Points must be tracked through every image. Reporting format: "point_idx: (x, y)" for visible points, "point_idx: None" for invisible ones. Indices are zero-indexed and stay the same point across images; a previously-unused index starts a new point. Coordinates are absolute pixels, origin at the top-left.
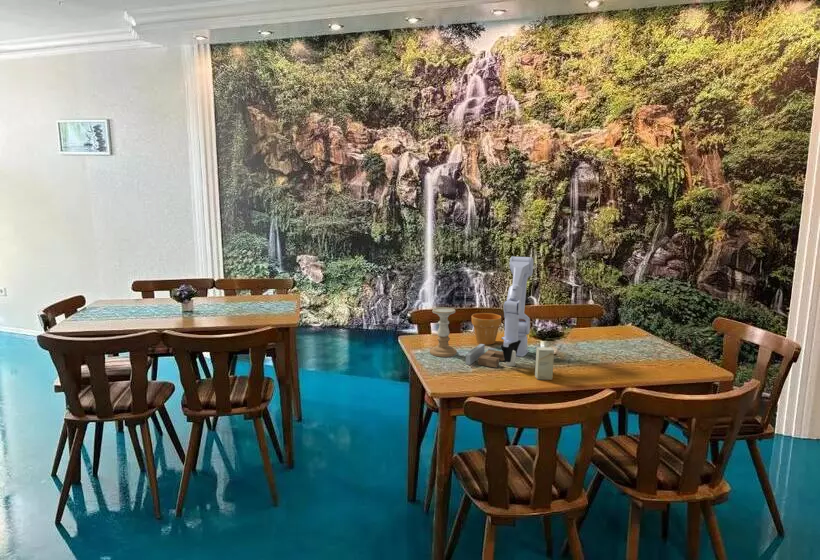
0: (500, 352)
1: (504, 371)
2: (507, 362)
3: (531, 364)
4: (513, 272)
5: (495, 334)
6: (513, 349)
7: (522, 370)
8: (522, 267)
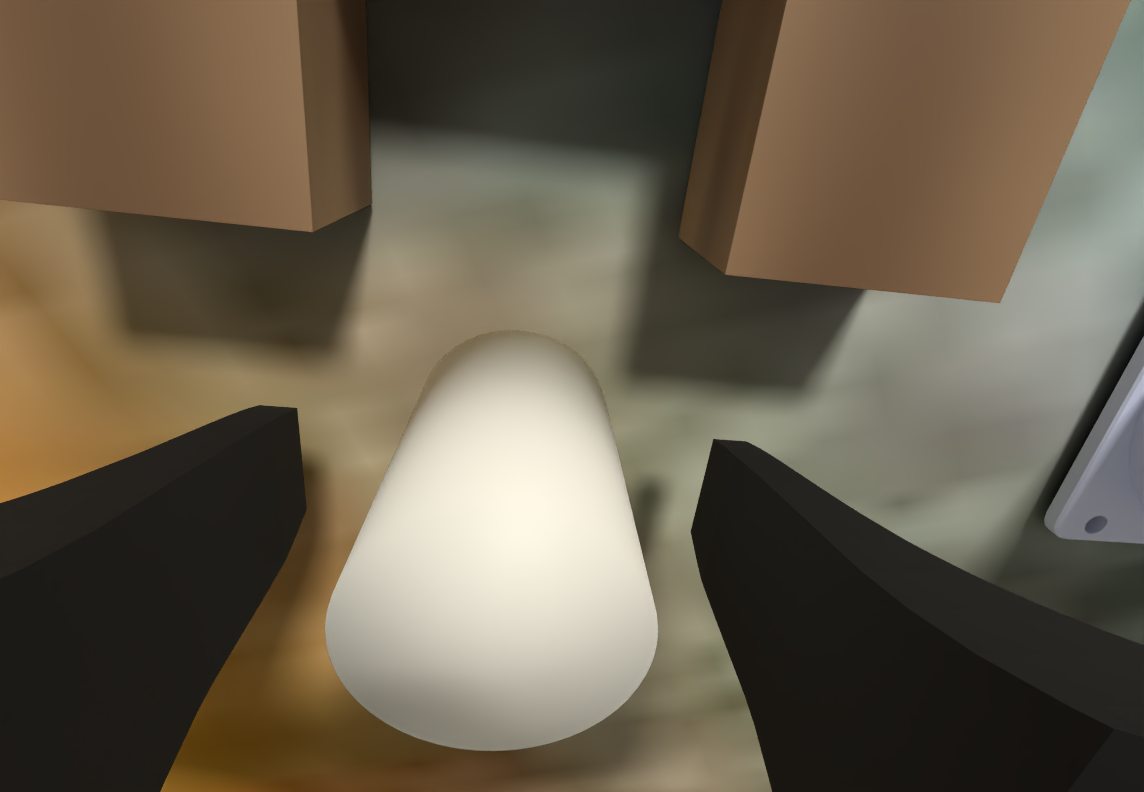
0: (934, 133)
1: (35, 401)
2: (416, 407)
3: (660, 679)
4: None
5: None
6: (778, 640)
7: (301, 635)
8: None
